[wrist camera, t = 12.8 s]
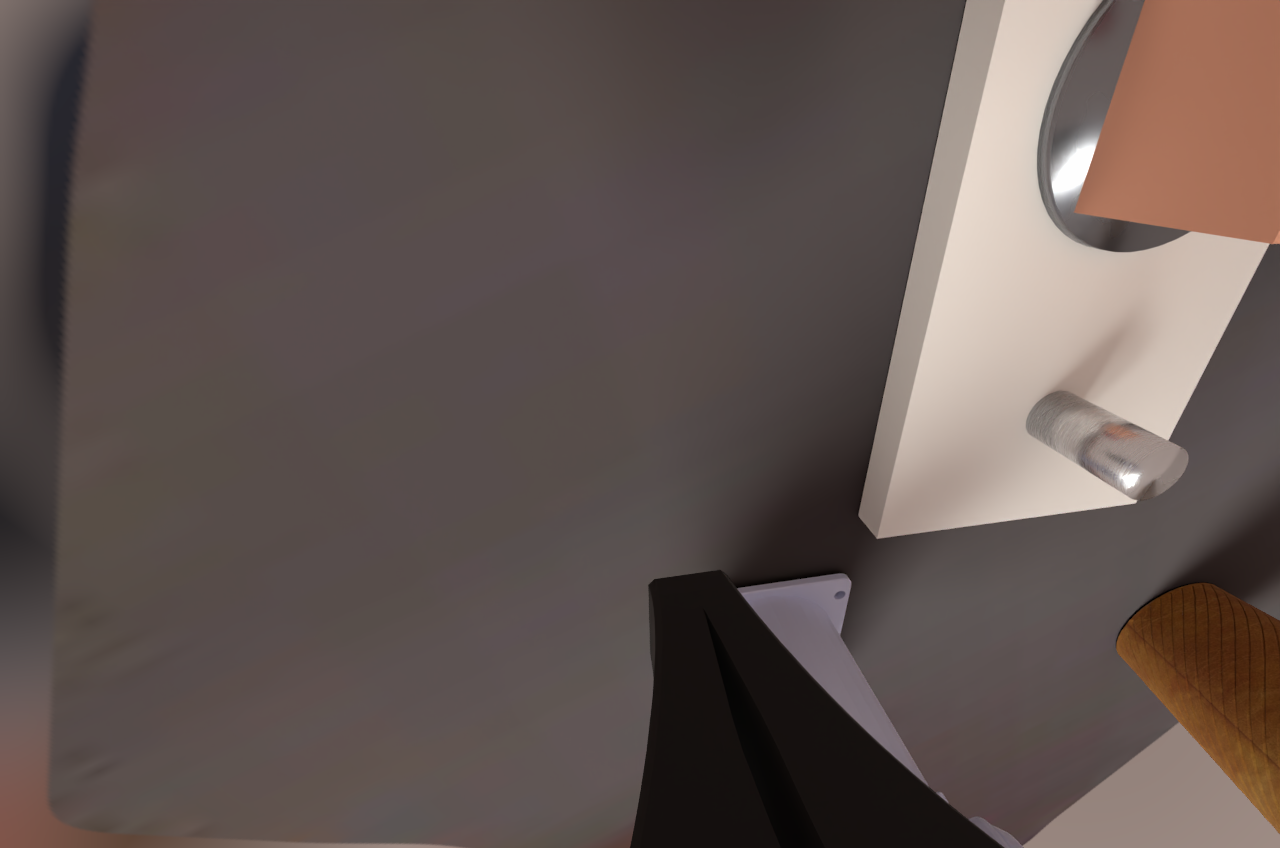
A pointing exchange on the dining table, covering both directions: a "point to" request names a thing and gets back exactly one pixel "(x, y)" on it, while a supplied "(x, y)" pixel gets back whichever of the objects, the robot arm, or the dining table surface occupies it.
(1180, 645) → the disposable coffee cup
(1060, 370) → the board
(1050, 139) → the disc
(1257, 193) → the collar
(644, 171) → the dining table surface
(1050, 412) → the stand rod
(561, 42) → the dining table surface
